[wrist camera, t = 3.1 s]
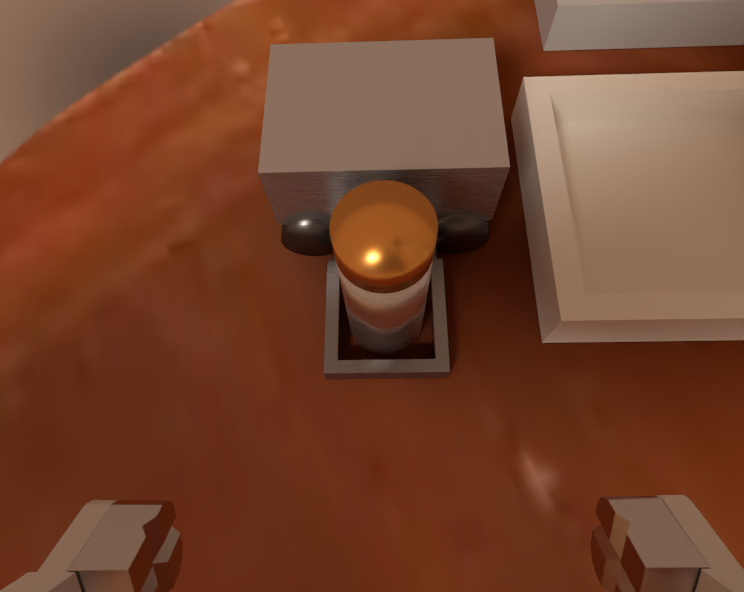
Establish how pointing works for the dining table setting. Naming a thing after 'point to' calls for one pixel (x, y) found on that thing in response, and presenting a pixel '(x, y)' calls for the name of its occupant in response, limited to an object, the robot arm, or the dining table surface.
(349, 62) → the wheeled grey cart
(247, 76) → the dining table surface
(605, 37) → the parts bin
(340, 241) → the jar with orange lid
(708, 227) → the tray
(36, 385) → the dining table surface
